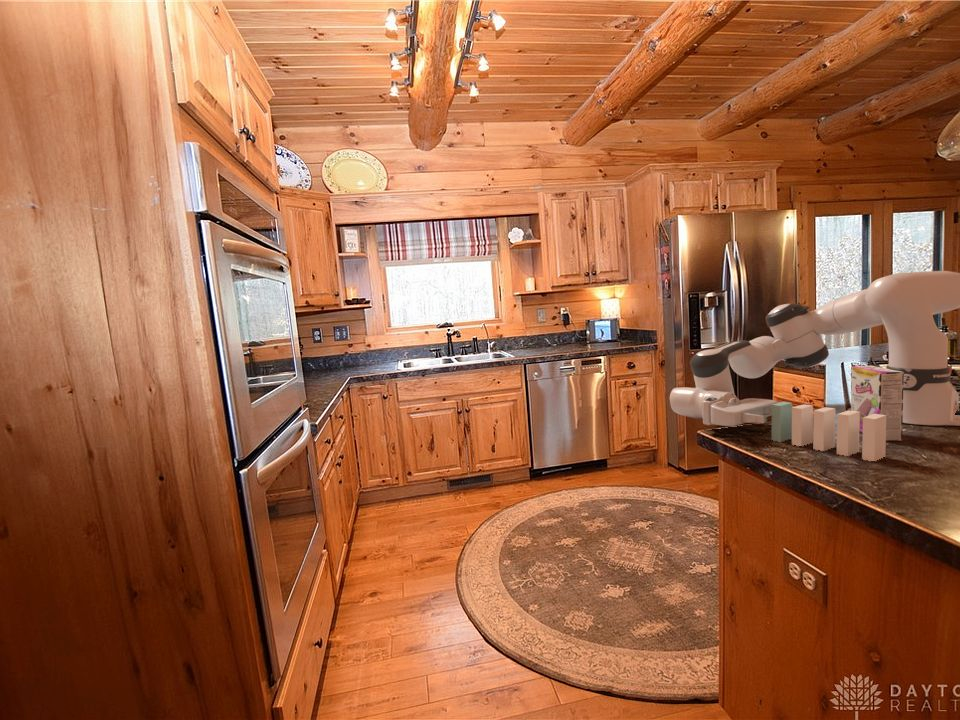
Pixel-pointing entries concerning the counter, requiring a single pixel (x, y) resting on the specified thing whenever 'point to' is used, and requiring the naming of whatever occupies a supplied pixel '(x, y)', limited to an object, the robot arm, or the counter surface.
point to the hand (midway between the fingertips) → (776, 416)
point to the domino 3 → (824, 429)
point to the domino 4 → (848, 432)
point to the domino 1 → (781, 421)
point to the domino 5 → (874, 437)
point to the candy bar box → (879, 396)
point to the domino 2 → (802, 425)
